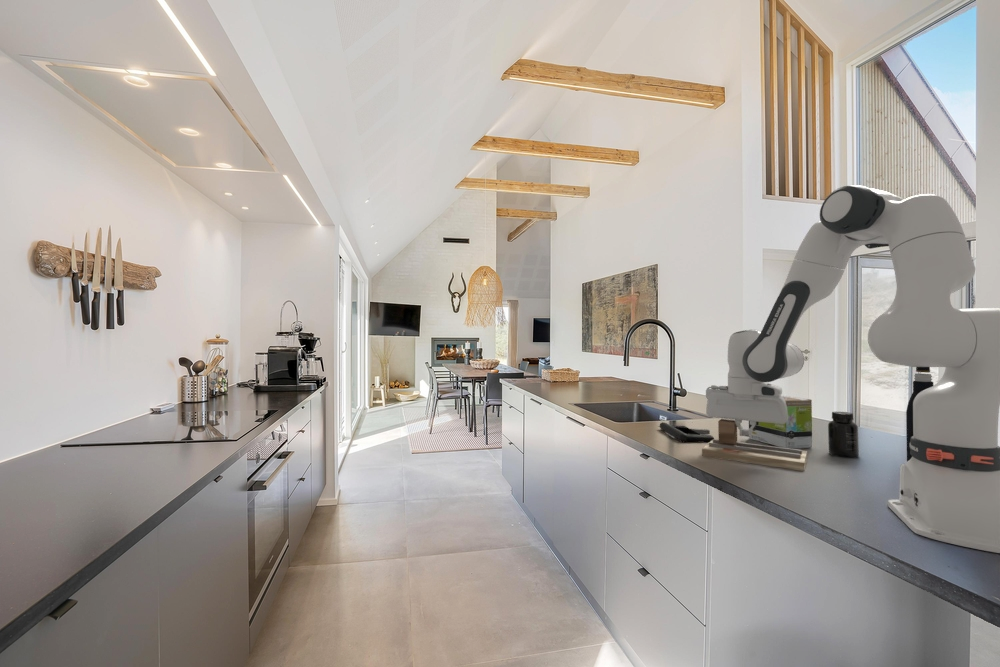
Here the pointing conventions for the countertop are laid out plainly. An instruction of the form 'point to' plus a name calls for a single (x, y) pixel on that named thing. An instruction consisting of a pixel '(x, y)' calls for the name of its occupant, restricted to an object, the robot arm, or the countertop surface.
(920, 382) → the black water bottle
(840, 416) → the supplement bottle
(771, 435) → the tea box
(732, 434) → the fader knob
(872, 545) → the countertop surface
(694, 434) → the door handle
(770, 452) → the slider board
